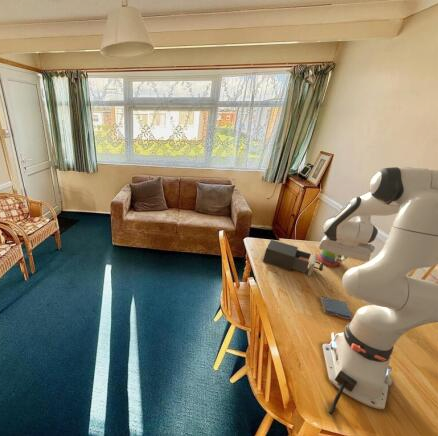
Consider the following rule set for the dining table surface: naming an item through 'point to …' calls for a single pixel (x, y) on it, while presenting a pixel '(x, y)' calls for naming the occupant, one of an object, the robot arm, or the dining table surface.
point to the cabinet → (280, 254)
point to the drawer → (305, 262)
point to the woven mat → (335, 307)
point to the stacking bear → (328, 258)
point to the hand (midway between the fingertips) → (338, 261)
